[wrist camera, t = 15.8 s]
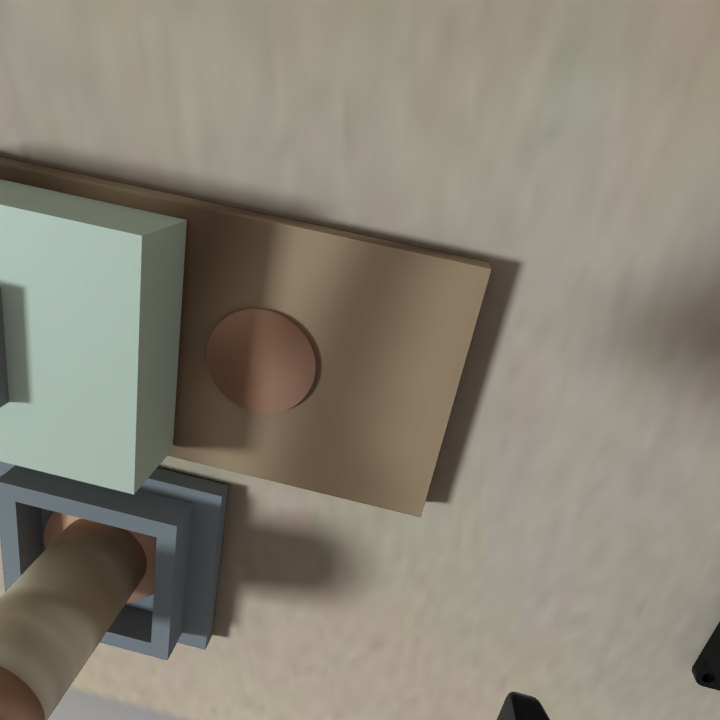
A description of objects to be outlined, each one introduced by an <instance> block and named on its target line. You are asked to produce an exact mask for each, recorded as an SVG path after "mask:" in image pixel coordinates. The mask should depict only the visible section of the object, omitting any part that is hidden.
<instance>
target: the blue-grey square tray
mask: <svg viewBox="0 0 720 720" xmlns="http://www.w3.org/2000/svg"><path fill="white" fill-rule="evenodd" d="M228 486H229V485H225V484H221V483H217V482H213V481H209V480H205V479H201V478H197V477H193V476H189V475H185V474H181V473H177V472H173V471H168V470H164V469H160V468H156V469H155V470H154V472H153V473H152V474H151V475H150V476H149V478H148V479H147V480H146V481H145V482H144V483H143V485H142V486H141V487H140V488H139V489H138V490H137V492H136V493H135V494H130V493H126V492H122V491H118V490H114V489H110V488H106V487H102V486H98V485H94V484H90V483H86V482H82V481H78V480H74V479H70V478H66V477H61V476H57V475H53V474H49V473H45V472H41V471H37V470H33V469H29V468H25V467H21V466H17V465H13V464H9V463H5V462H1V461H0V539H1V550H2V561H3V573H4V584H5V592H6V591H7V590H8V589H9V588H10V587H11V586H12V584H13V583H14V582H15V581H16V580H17V579H18V578H19V577H20V576H21V575H22V574H23V573H24V572H25V571H26V570H27V569H28V568H29V567H30V566H31V564H32V563H33V562H34V561H35V560H36V559H37V558H38V557H39V556H40V555H41V554H42V553H43V552H44V551H45V550H46V549H47V548H48V547H49V546H50V544H51V543H52V542H53V541H54V540H55V539H56V538H57V537H58V536H59V535H60V534H61V533H62V532H63V531H64V530H65V529H66V528H67V527H68V526H69V525H70V524H71V523H72V522H74V521H76V520H78V519H81V518H82V519H86V520H90V521H94V522H98V523H102V524H106V525H110V526H114V527H118V528H122V529H126V530H127V531H129V532H130V533H131V534H132V535H133V536H134V537H135V538H136V539H137V540H138V542H139V543H140V545H141V546H142V548H143V550H144V552H145V555H146V559H147V569H146V573H145V575H144V577H143V579H142V580H141V582H140V583H139V585H138V586H137V588H136V589H135V590H134V592H133V593H132V595H131V596H130V598H129V599H128V601H127V602H126V604H125V605H124V607H123V608H122V610H121V611H120V613H119V614H118V616H117V617H116V619H115V620H114V622H113V623H112V625H111V626H110V628H109V629H108V631H107V632H106V633H105V635H104V636H103V638H102V639H101V641H100V643H104V644H108V645H112V646H116V647H119V648H123V649H127V650H131V651H134V652H138V653H142V654H146V655H149V656H153V657H157V658H161V659H164V660H168V658H169V657H170V655H171V653H172V651H173V649H174V647H175V645H176V643H177V642H178V643H182V644H186V645H189V646H193V647H197V648H201V649H206V647H207V645H208V643H209V641H210V639H211V636H212V629H213V620H214V611H215V602H216V593H217V584H218V576H219V567H220V558H221V549H222V540H223V531H224V522H225V513H226V504H227V495H228Z"/></svg>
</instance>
